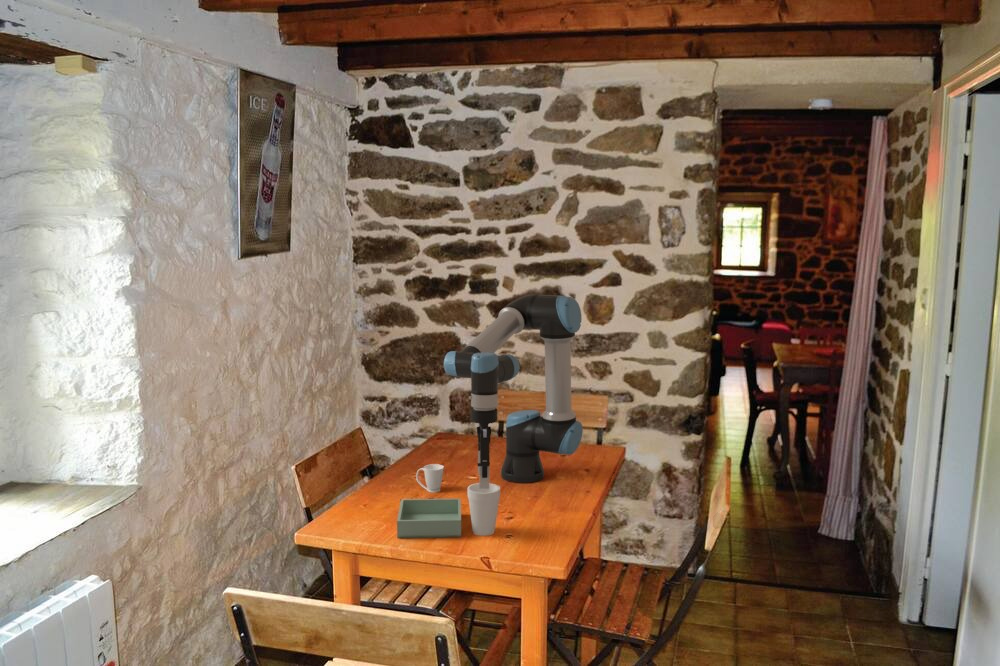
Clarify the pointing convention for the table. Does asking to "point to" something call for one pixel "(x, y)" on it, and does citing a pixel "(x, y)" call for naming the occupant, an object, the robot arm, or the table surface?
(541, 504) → the table surface
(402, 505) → the bin
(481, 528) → the foam cup
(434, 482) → the cup
